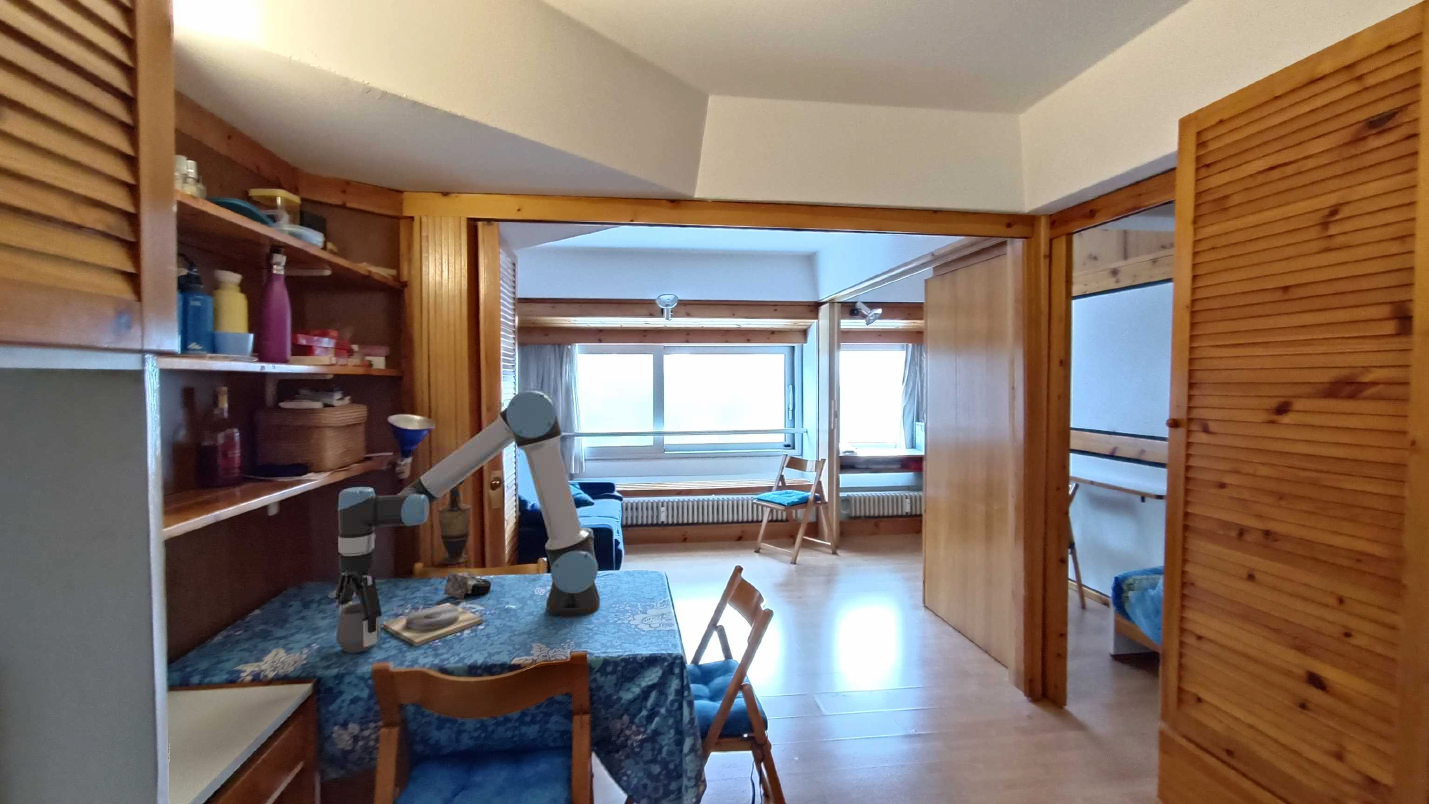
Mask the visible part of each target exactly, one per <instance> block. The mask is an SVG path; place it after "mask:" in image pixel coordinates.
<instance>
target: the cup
mask: <svg viewBox="0 0 1429 804" xmlns="http://www.w3.org/2000/svg"><path fill="white" fill-rule="evenodd" d="M364 617H365V616H364V612H363V609H362V606H361V603H359V602H358V603H354V604H353V605H350V606H347V607H345V608H343V609H342V610H341V611H340V610H339V617H338V623H337V629H336V634H335V635H336V642H337V644H338V645H340V647H341V649H342V650H343V651H344V652H345V653H348V654H357V653H363V652H365V651H368V650H370V649H372V648H373V646H375V644H373V645H370V646H367V647H364V640H363V621H362V620H363V618H364ZM381 626H382V625H381V622H380V618H379V617H377V639H378V638H379V636H380V634H381V631H382V629H381V628H382V627H381Z"/></svg>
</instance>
